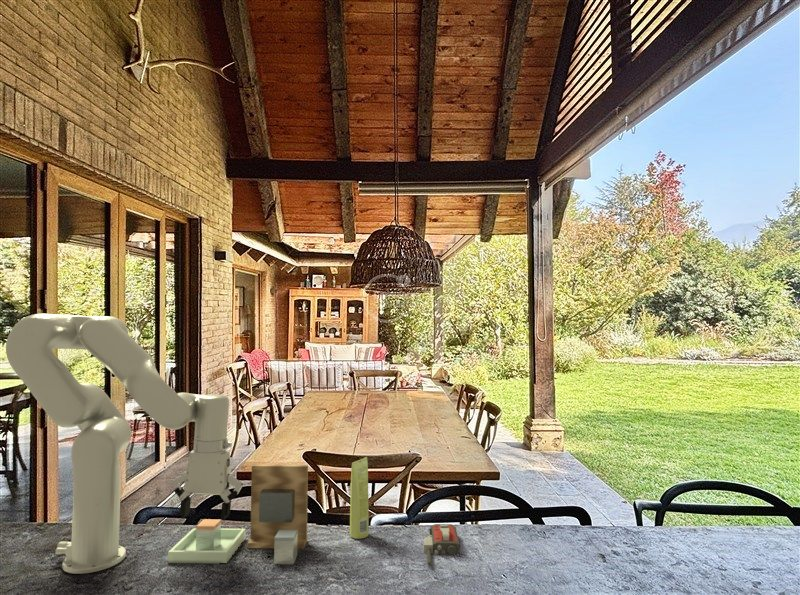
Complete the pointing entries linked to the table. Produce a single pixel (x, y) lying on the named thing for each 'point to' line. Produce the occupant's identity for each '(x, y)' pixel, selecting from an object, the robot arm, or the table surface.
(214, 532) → the block
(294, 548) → the block
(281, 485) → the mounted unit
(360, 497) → the tube
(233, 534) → the tray
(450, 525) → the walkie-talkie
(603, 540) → the table surface
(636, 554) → the table surface
